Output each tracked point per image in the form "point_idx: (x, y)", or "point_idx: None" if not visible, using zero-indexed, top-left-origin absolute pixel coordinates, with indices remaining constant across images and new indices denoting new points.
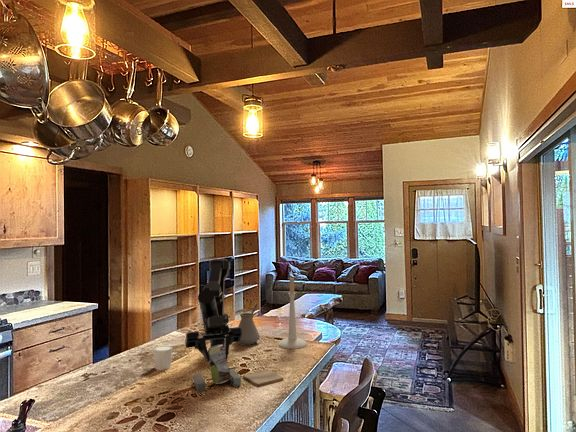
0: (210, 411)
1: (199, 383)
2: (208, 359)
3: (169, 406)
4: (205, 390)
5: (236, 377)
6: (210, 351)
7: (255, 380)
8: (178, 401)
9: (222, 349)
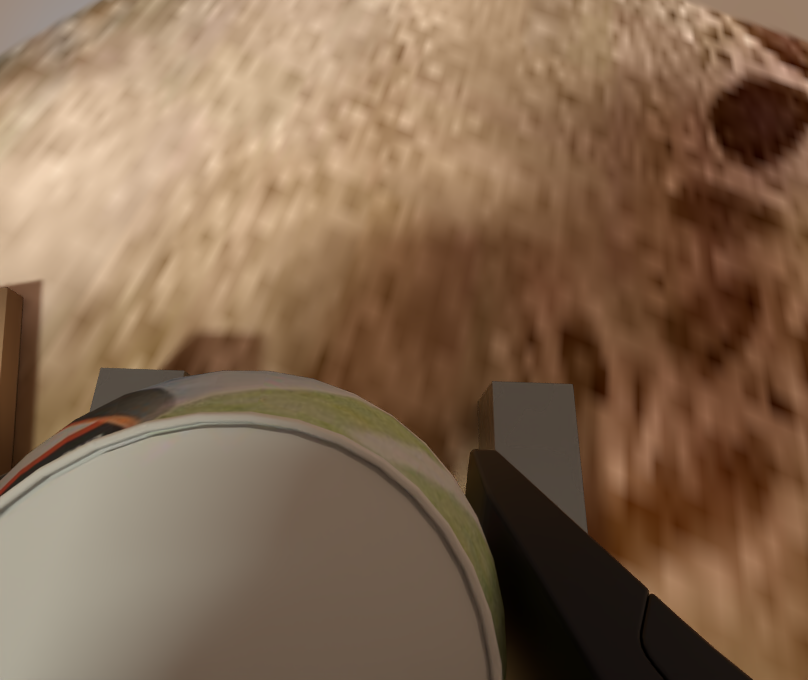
0: (500, 78)
1: (557, 394)
2: (486, 456)
3: (764, 241)
4: (480, 401)
5: None
6: (453, 504)
7: None
8: (707, 295)
9: (96, 409)
